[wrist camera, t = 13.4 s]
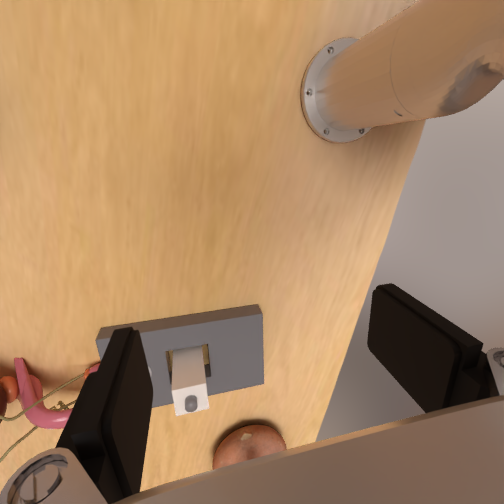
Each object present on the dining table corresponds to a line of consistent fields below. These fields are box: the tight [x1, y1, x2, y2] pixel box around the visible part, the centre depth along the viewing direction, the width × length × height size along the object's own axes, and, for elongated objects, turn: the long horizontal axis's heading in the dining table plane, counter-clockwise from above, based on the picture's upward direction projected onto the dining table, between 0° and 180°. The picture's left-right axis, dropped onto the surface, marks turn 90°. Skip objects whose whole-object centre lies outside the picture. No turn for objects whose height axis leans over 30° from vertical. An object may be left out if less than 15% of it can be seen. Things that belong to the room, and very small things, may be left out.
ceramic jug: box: [213, 425, 287, 470], centre depth 50 cm, size 18×14×14 cm
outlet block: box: [96, 304, 264, 408], centre depth 45 cm, size 24×14×3 cm, turn 92°
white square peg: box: [172, 345, 209, 416], centre depth 41 cm, size 4×4×11 cm
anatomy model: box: [0, 358, 100, 462], centre depth 38 cm, size 11×15×17 cm
